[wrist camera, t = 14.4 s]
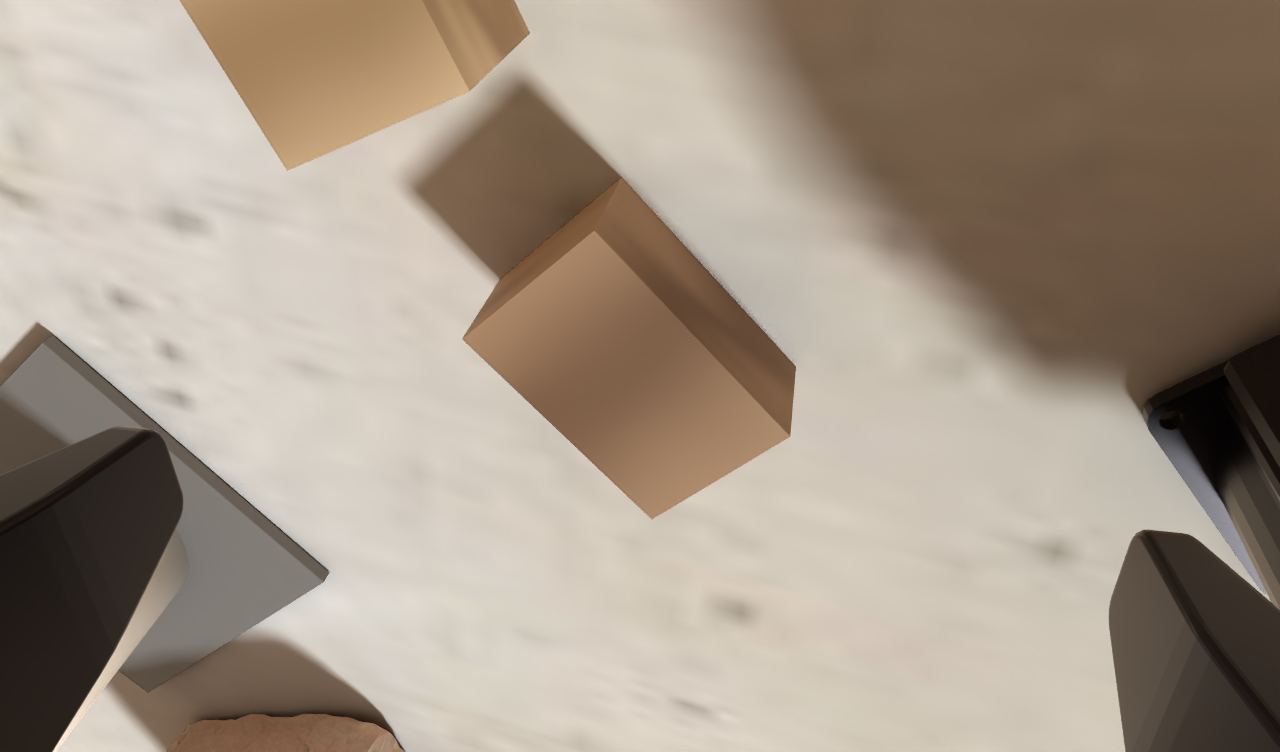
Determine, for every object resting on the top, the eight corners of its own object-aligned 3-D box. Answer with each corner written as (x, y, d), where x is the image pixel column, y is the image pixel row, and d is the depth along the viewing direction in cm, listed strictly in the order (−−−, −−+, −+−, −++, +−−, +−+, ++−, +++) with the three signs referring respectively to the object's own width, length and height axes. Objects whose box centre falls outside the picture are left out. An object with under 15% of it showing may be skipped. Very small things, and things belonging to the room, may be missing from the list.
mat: (329, 572, 30) (323, 582, 29) (154, 683, 34) (147, 692, 34) (52, 334, 27) (42, 342, 26) (-99, 492, 31) (-110, 500, 31)
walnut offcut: (796, 361, 23) (789, 436, 21) (671, 442, 25) (652, 519, 23) (623, 173, 22) (594, 230, 19) (502, 274, 23) (462, 339, 21)
